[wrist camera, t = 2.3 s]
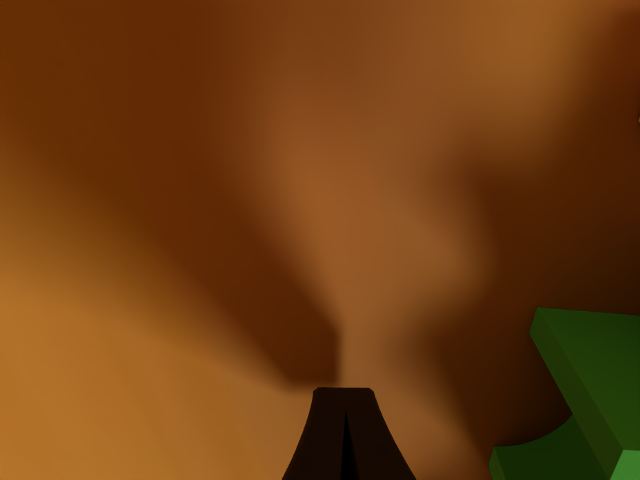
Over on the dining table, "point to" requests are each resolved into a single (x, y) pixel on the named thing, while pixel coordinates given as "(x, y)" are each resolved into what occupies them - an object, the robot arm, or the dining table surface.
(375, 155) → the dining table surface
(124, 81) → the dining table surface
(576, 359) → the pipe clamp
